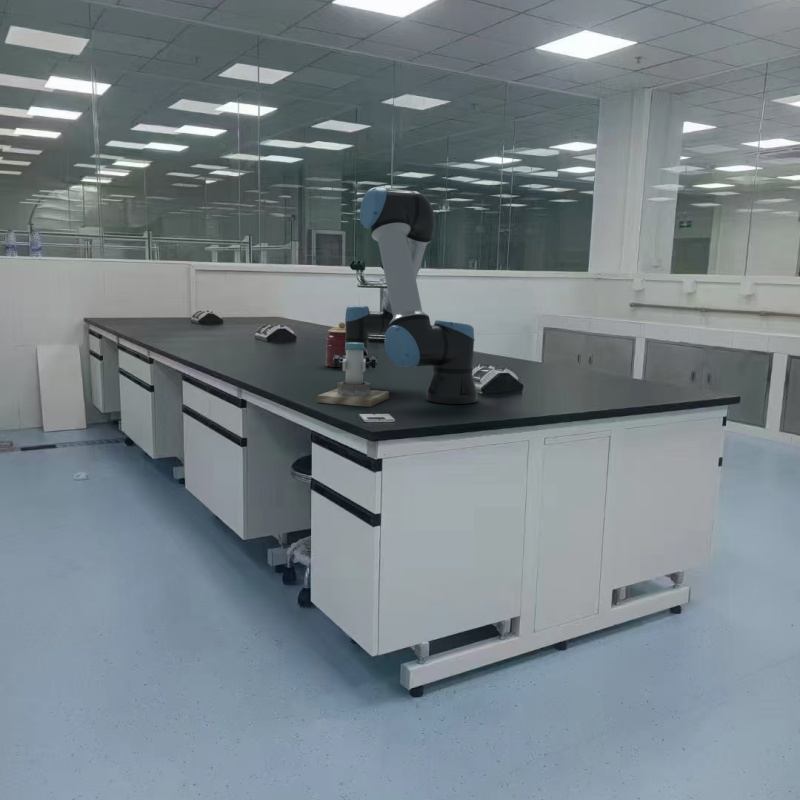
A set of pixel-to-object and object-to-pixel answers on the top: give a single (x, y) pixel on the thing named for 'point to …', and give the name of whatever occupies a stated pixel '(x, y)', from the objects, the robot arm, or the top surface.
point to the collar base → (353, 395)
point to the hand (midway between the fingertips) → (353, 366)
